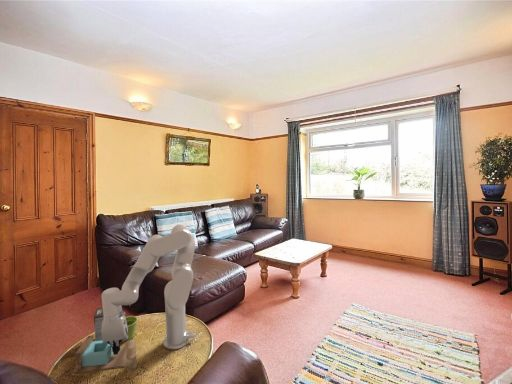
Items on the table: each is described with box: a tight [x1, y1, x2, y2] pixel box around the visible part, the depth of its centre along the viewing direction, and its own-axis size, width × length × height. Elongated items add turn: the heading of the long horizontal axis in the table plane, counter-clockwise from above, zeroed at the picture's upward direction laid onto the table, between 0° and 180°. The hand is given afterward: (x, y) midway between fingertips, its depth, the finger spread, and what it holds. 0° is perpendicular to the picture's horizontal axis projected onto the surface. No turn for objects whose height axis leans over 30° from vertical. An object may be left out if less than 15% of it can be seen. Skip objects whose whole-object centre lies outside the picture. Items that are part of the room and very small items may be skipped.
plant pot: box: [125, 315, 138, 341], centre depth 135 cm, size 9×9×9 cm
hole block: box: [82, 340, 113, 367], centre depth 119 cm, size 10×10×5 cm
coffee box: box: [93, 306, 104, 341], centre depth 131 cm, size 9×6×16 cm
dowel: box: [124, 338, 138, 372], centre depth 113 cm, size 4×4×12 cm
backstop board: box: [73, 335, 127, 374], centre depth 119 cm, size 21×14×8 cm, turn 99°
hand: (116, 352), depth 120 cm, fingers closed
